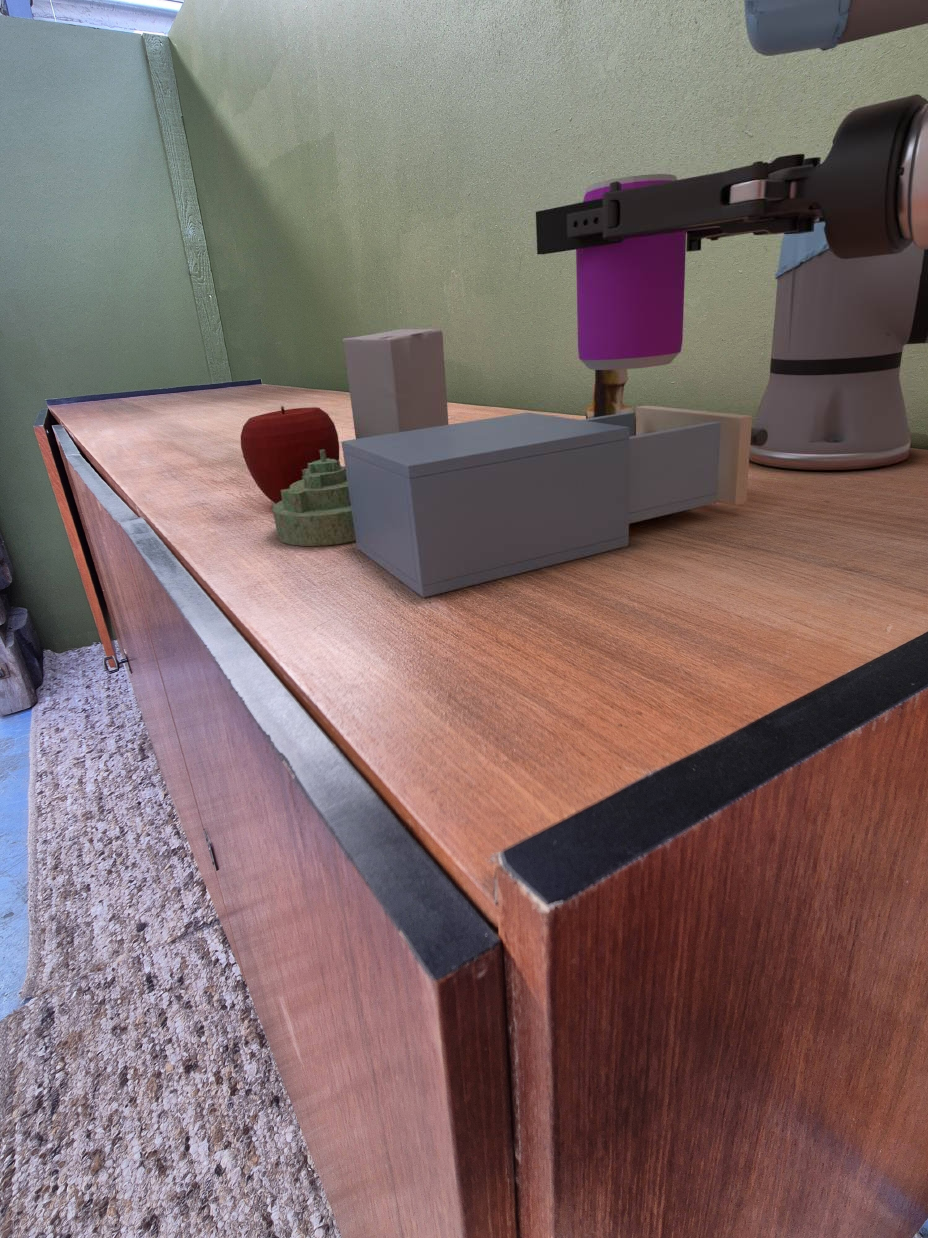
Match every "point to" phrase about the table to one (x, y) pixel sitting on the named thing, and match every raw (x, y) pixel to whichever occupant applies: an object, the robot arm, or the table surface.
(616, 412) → the figurine
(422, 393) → the cosmetic box
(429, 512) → the cabinet
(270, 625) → the table surface
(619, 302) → the beverage can
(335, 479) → the decorative artifact
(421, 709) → the table surface
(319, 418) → the apple
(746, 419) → the drawer
